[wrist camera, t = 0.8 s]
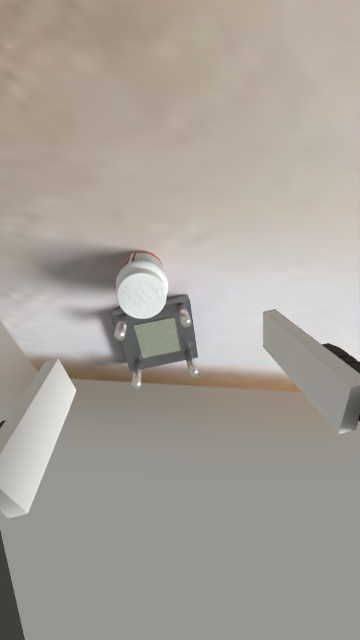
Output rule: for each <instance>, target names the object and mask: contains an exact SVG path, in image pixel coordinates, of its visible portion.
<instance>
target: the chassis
mask: <svg viewBox="0 0 360 640" xmlns="http://www.w3.org/2000/svg"><path fill="white" fill-rule="evenodd" d="M111 316H112V319H113V322H114V325H115V328H116V329H115V333H114V338H115V339H116V340H118V341H120V343H121V346H122V348H123V351H124V354H125V357H126V360H127V363H128V366H129V369H130V371H133V374H132V388H133V389H135V390H138V389H139V388H140V387H141V369H144V368H149V367H154V366H159V365H163V364H168V363H173V362H178V361H182V360H186V362H187V365H188V369H189V373H190V376H191V377H197V376H198V375H199V372H198V368H197V365H196V362H195V359H194V358H197V357H198V355H197V348H196V341H195V334H194V326H193V319H192V312H191V305H190V300H189V297H188V295H182V296H176V297H171V298H166V303H165V305H164V307H163V309H162V310H161V311H160V312H159V313H158V314H157V315H155V316H153V317H151V318H146V319H138V318H134V317H132V316H130V315H128V314H126V313H125V312H124V311H123V310H122V309H121V307H120V308H115V309H113V312H112V315H111Z"/></svg>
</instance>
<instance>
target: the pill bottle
mask: <svg viewBox="0 0 360 640" xmlns="http://www.w3.org/2000/svg"><path fill="white" fill-rule="evenodd" d="M116 291H117V300H118V303H119V305H120V307H121V309H122V310H123V311H124V312H125V313H126V314H128V315H130V316H132V317H134V318H138V319H146V318H151V317H153V316H155V315H157V314H158V313H159V312H160V311H161V310H162V309H163V307H164V305H165V303H166V296H167V293H168V281H167V277H166V274H165V271H164V267H163V265H162V263H161V261H160V259H159V258H158V257H157V256H156V255H154V254H153V253H150V252H148V251H137V252H134V253H132V254H130V255H129V256H128V257H127V258H126V259H125V261H124V263H123V265H122V267H121V269H120V271H119V273H118V276H117V279H116Z"/></svg>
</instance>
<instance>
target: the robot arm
mask: <svg viewBox="0 0 360 640" xmlns="http://www.w3.org/2000/svg"><path fill="white" fill-rule="evenodd" d="M263 347H264V348H265V349H266V351H267V352H268V353H269V354H270V355H271V356H272V358H273V359H274V360H275V361H276V362H277V363H278V365H279V366H280V367H281V368H282V369H283V370H284V371H285V373H286V374H287V375H288V376H289V377H290V378H291V380H292V381H293V382H294V383H295V384H296V385H297V387H298V388H299V389H300V390H301V391H302V392H303V394H304V395H306V397H307V398H308V399H309V400H310V402H311V403H312V404H313V405H314V406H315V407H316V408H317V410H318V411H319V412H320V413H321V414H322V416H324V418H325V419H326V420H327V421H328V423H330V425H331V426H332V427H333V428H334V430H335V431H336V432H337V433H338V434H341V433H345V432H349V431H353V430H356V427H357V424H358V421H360V362H359V361H357V360H356V359H355V358H354V357H352V356H350V355H349V354H348V353H346V352H345V351H344V350H342V349H341V348H339V347H336V346H334V345H331V344H329V343H327V344H323V345H321V344H320V343H319V342H317V341H316V340H315V339H313V338H312V337H311V336H309V335H308V334H307V333H306V332H304V331H303V330H302V329H300V328H299V327H298V326H296V325H295V324H294V323H292V322H291V321H290V320H288V319H287V318H286V317H284V316H283V315H282V314H281V313H279V312H278V311H277V310H275V309H274V310H269V311H265V312H263ZM75 393H76V389H75V387H74V386H73V384H72V382H71V380H70V378H69V377H68V375H67V373H66V371H65V370H64V368H63V366H62V364H61V363H60V361H59V359H54V360H50V361H46V362H45V363H44V365H43V366H42V368H41V369H40V371H39V372H38V374H37V375H36V377H35V378H34V380H33V381H32V383H31V384H30V386H29V387H28V389H27V390H26V391H25V393H24V395H23V396H22V397H21V399H20V400H19V402H18V403H17V405H16V406H15V408H14V409H13V411H12V412H11V414H10V415H9V417H8V418H7V420H5V421H2V422H1V423H0V512H1V513H3V514H4V515H6V517H8V518H11V517H15V516H19V515H23V514H27V513H28V512H29V509H30V506H31V504H32V501H33V499H34V496H35V494H36V491H37V489H38V486H39V484H40V481H41V479H42V476H43V474H44V471H45V469H46V466H47V463H48V461H49V459H50V456H51V453H52V451H53V448H54V446H55V443H56V441H57V438H58V436H59V433H60V431H61V428H62V426H63V423H64V421H65V418H66V416H67V413H68V410H69V408H70V405H71V403H72V400H73V398H74V395H75ZM0 640H25V639H24V634H23V630H22V626H21V621H20V617H19V612H18V608H17V603H16V599H15V594H14V591H13V586H12V581H11V576H10V572H9V568H8V563H7V559H6V554H5V550H4V545H3V541H2V536H1V532H0Z"/></svg>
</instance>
